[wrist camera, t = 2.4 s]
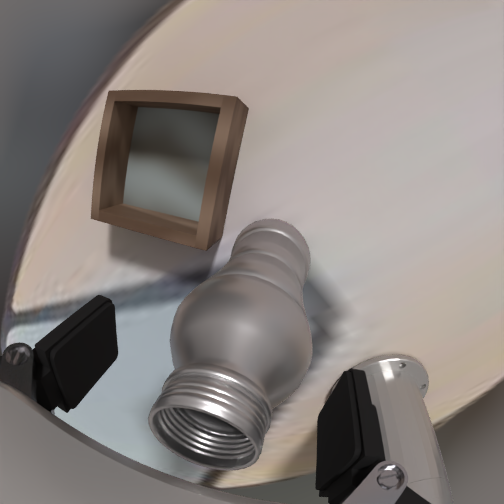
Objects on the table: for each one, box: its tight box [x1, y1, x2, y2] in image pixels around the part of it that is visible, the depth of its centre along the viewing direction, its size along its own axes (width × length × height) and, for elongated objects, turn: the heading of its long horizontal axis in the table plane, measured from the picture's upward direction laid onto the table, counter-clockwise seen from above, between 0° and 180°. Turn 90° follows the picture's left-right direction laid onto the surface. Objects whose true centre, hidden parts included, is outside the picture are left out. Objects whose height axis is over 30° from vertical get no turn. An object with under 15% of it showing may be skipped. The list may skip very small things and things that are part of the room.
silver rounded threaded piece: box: [148, 219, 312, 470], centre depth 16 cm, size 6×7×20 cm
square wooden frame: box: [91, 90, 249, 251], centre depth 23 cm, size 12×12×4 cm
